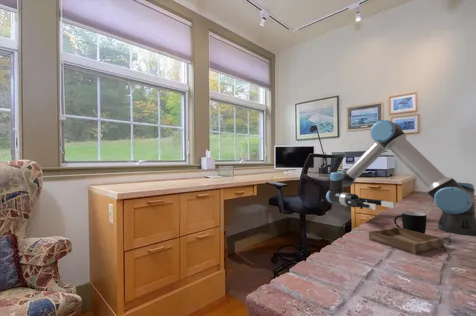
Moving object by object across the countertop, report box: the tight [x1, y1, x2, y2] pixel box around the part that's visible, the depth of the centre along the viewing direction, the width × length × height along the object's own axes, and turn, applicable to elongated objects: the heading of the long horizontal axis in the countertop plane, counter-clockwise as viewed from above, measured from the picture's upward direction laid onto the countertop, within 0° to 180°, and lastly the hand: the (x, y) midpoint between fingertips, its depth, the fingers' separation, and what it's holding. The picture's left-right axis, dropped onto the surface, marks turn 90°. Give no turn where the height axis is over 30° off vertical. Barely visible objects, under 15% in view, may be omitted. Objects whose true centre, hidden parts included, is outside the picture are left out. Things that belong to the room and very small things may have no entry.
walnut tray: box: [368, 226, 445, 256], centre depth 94 cm, size 18×18×4 cm
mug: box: [393, 210, 428, 234], centre depth 105 cm, size 12×9×10 cm
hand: (385, 206), depth 115 cm, fingers open, 13 cm apart
